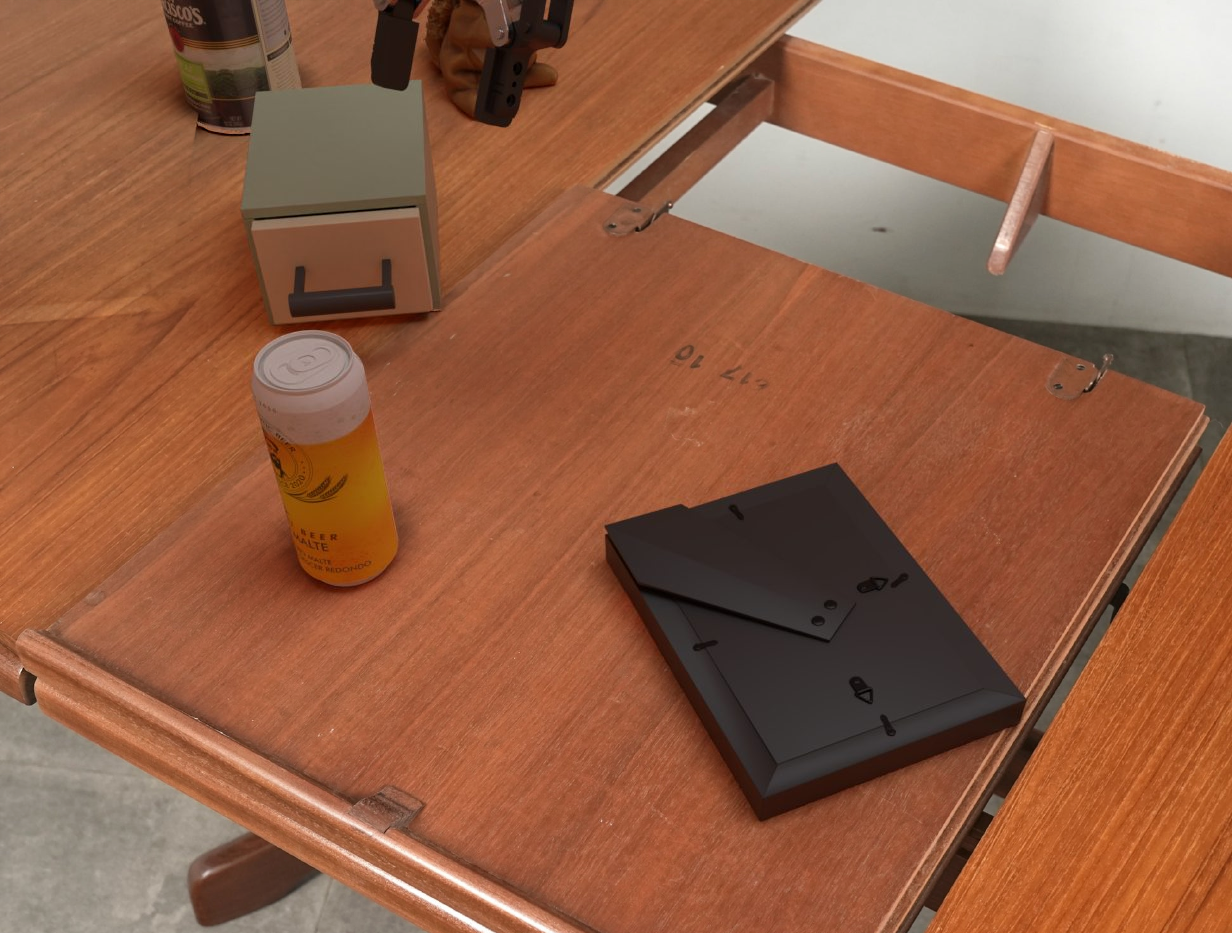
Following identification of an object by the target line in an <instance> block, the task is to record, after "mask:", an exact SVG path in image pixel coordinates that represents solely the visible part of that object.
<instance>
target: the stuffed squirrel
mask: <svg viewBox="0 0 1232 933" xmlns="http://www.w3.org/2000/svg"><path fill="white" fill-rule="evenodd" d="M427 11H428V12H427V13H428V15H426V19H427V21H426V22H425V28H426V30H425V32H426V35H425V37H424V38H423V39H422V41H423V42H425V45H426V46H425V47H426V49H427V51H428V54H429V56H430V59H429V60H430V61H431V62H432V63H434V65H435V66H436V67H437V69H439V70H440V71H441V74H442V77H443V81H444V86H445V89H446V92H447V95H448V97H449V98H450V100H451V101H452V102H453V104H454V105H455V106H456V107H457V108H459V109H460V110H461V111H462V112H464V113H466V114H467V115H469V117H470V116H471V117H472V118H474V119H475V117H474V109H475V104H476V99H477V94H478V89H479V83H480V78H481V73H482V68H483V63H484V58H485V53H486V48H487V46H488V47H493V48H495V45H494V44H493V42H492V39H491V35H490V31H489V27H488V23H487V19H486V15H485V11H484V9H483V7H482V6H481V5H479V4H478V3H477V1H476V0H433V1H431V6H430V7H429V8H427ZM510 17H511V16H510ZM511 21H512V19H511ZM537 60H538V53H537V52H536V53H534V54H532V56H531V58H530V60H529V64H528V68H527V73H526V78H525V83H524V88H527V87H528V88H529V87H540V86H541V87H542V86H549V85H550V86H551V85H555V84H557V81H558V78H559V72H558V70H557V69H556V68H555V67H554V66H552V65H550V64H549V63H545V62H537Z"/></svg>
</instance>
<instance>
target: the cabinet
mask: <svg viewBox="0 0 1232 933" xmlns="http://www.w3.org/2000/svg"><path fill="white" fill-rule="evenodd" d="M426 109H427V108H426V103H425V94H424V89H423V80H422V79H410V80H409V85H408V87H407V89H406V90H404V91H397V90H392V89H387V88H383V87H380V86H377V85H374V84H373V83H372V82H370V83H357V84H344V85H343V84H342V85H341V84H340V85H331V86H330V85H329V86H315V87H302V89H289V90H275V91H262V92H256V94H255V102H254V109H253V117H252V125H251V132H250V134H249V140H248V141H249V142H248V147H247V148H248V149H247V155H246V165H245V171H244V172H245V173H244V180H243V186H242V193H241V203H240V208H239V210H240V214H241V217H242V218H241V219H242V222H243V226H244V229H245V234H246V237H247V241H248V246H249V249H250V253H251V257H252V262H253V265H254V269H255V272H256V277H257V281H258V284H259V290H260V292H261V296H262V300H263V301H262V302H263V304H264V308H265V312H266V316H267V320H268V324H269V326H270V327H271V326H284V325H293V324H296V325H297V324H307V323H317V322H319V323H320V322H328V321H329V322H331V321H342V320H352V319H353V320H354V319H365V318H366V319H367V318H376V317H388V316H389V317H390V316H400V315H401V316H402V315H411V314H423V313H431V312H430V311H425V312H413V313H402V314H390V315H378V316H367V317H355V318H343V319H332V320H320V321H308V322H297V323H285V324H275V323H274V319H273V315H272V311H271V307H270V303H269V299H268V296H267V292H266V288H265V284H264V280H263V276H262V272H261V268H260V264H259V260H258V256H257V252H256V248H255V244H254V240H253V236H252V232H251V227H252V221H257V220H266V218H265V217H277V216H289V215H302V214H314V213H326V212H339V211H351V210H363V209H376V208H388V207H400V206H413V205H416V208H419V213H420V220H421V227H422V234H423V240H424V247H425V254H426V261H427V268H428V275H429V281H430V288H431V295H432V304H433V310H434V309H442V310H443V299H442V298H443V297H442V280H441V279H442V278H441V257H440V256H441V255H440V236H439V217H438V216H439V215H438V194H437V184H436V176H435V170H434V162H433V156H432V155H433V154H432V146H431V139H430V132H429V125H428V124H429V123H428V117H427V110H426ZM433 310H432V311H433Z"/></svg>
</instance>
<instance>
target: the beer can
mask: <svg viewBox="0 0 1232 933" xmlns="http://www.w3.org/2000/svg"><path fill="white" fill-rule="evenodd" d="M250 390H251V393H252V397H253V401H254V404H255V405H254V406H255V408H256V412H257V416H258V418H259V422H260V426H261V429H262V433H263V437H264V440H265V444H266V447H267V448H266V449H267V451H268V455H269V459H270V461H271V465H272V468H273V472H274V476H275V480H276V483H277V486H278V490H279V494H280V498H281V501H282V505H283V508H284V512H285V514H286V515H285V516H286V519H287V523H288V526H289V529H290V534H291V536H292V537H291V538H292V540H293V544H294V548H295V551H296V554H297V558H298V561H299V565H300V566H301V568H302V569H303V571H305V573H307V574H308V575H309V576H311V577H312V578H314V579H316V580H319V581H321V582H322V583H325V584H328V585H331V586H335V587H354V586H359V585H362V584H365V583H367V582H370V581H372V580H374V579H376V578H377V577H378V576H380V575H381V574H382V573H383V572H384V571H385V570H386V568H387V567H388V566H389V565H390V564H391V562H392V561H393V560H394V558H395V556H396V554H397V552H398V548H399V537H398V531H397V527H396V526H397V525H396V522H395V517H394V512H393V507H392V501H391V496H390V491H389V485H388V481H387V476H386V472H385V467H384V461H383V456H382V452H381V448H380V447H381V446H380V441H379V436H378V431H377V427H376V421H375V417H374V411H373V406H372V401H371V397H370V391H369V386H368V382H367V376H366V371H365V366H364V363H363V361H362V360H361V358H360V357H359V355H357V353H356V352H355V351H354V350H353V348H352V346H351V344H350V343H349V342H348V341H347V340H346V339H345V338H344V337H342V336H340V335H339V334H336V333H333V332H329V331H326V330H317V329H311V330H310V329H308V330H298V331H293V332H290V333H287V334H284V335H281V336H279V337H276V338H275V339H273V340H271V341H270V342H268V343H267V344H266V345H264V346H263V347H262V348H261V349H260V350H259V352H258V353H257V354H256V356H255V359H254V361H253V372H252V375H251V379H250Z"/></svg>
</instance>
